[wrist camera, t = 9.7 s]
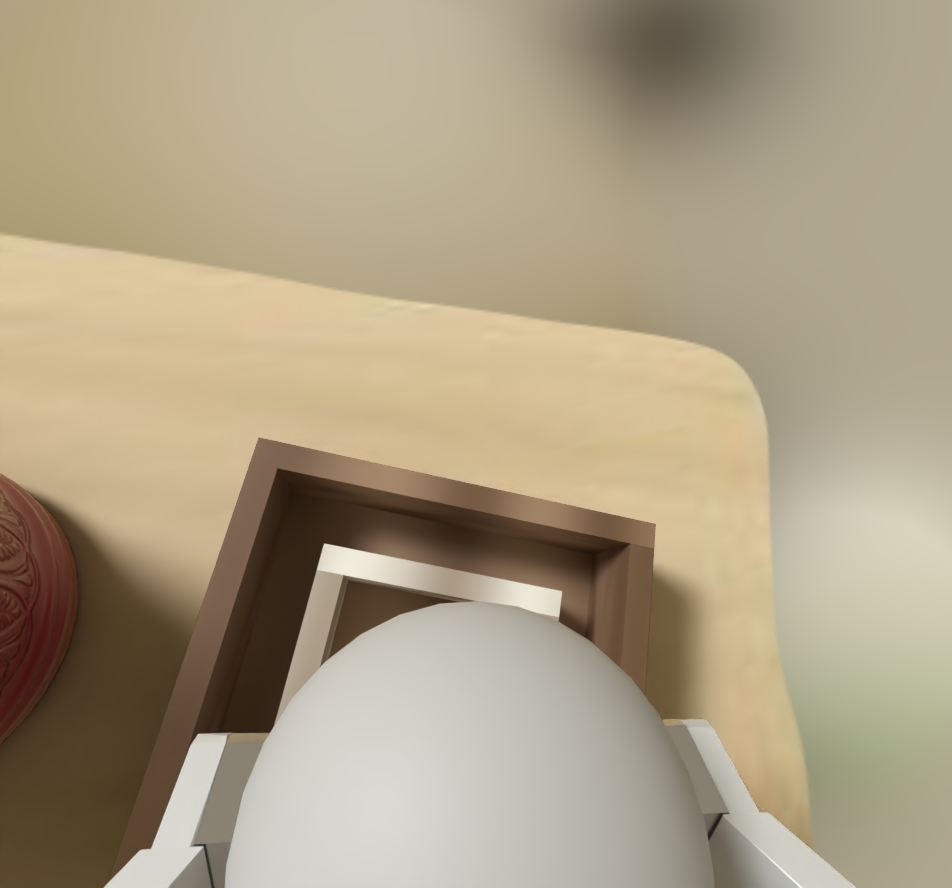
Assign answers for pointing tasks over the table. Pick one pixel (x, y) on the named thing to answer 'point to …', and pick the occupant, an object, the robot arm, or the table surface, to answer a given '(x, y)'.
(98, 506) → the table surface
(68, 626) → the canister
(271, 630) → the socket box
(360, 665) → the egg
